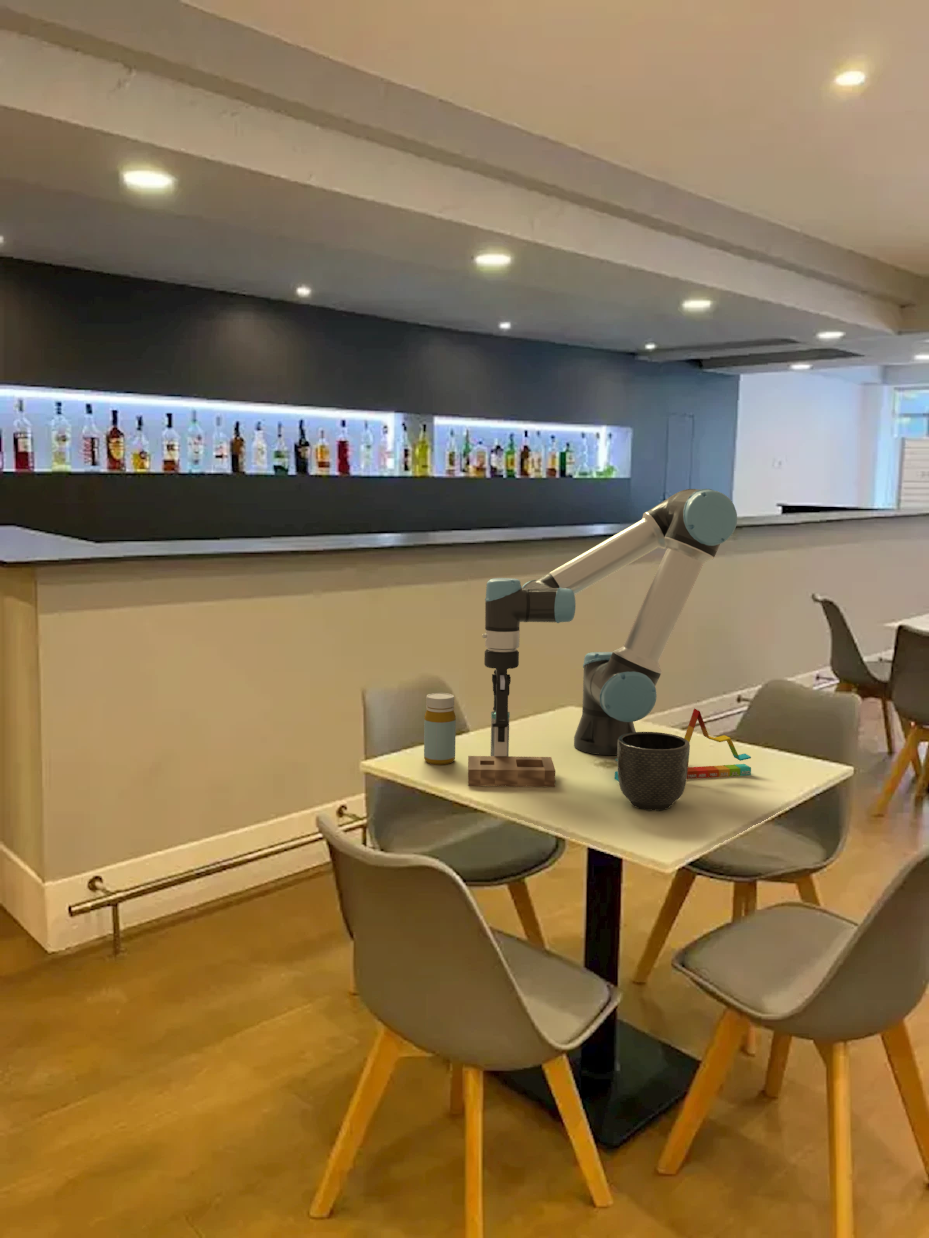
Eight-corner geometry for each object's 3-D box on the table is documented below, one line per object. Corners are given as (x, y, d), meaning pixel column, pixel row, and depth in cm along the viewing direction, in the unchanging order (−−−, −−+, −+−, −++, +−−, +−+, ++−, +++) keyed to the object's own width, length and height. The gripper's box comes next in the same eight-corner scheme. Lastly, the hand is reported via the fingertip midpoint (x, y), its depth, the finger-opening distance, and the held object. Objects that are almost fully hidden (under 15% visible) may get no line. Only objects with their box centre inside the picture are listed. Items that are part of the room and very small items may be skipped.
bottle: (456, 757, 223) (457, 693, 221) (453, 766, 216) (454, 699, 214) (426, 755, 224) (426, 691, 221) (422, 764, 217) (422, 698, 215)
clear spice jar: (508, 762, 219) (509, 710, 217) (509, 768, 215) (510, 715, 213) (489, 762, 219) (490, 710, 217) (490, 767, 215) (491, 714, 213)
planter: (700, 812, 188) (703, 747, 186) (634, 818, 184) (637, 752, 182) (665, 790, 201) (668, 729, 199) (603, 795, 197) (605, 733, 195)
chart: (620, 784, 206) (622, 715, 204) (614, 779, 209) (617, 711, 207) (751, 776, 212) (755, 709, 210) (743, 772, 215) (747, 706, 213)
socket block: (550, 772, 212) (551, 756, 212) (555, 786, 202) (555, 770, 202) (468, 771, 212) (468, 755, 212) (468, 785, 202) (468, 769, 202)
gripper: (483, 641, 224) (481, 738, 226) (485, 656, 203) (483, 762, 205) (516, 642, 224) (514, 738, 226) (522, 657, 203) (519, 763, 205)
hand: (499, 750), depth 216 cm, fingers open, 8 cm apart
